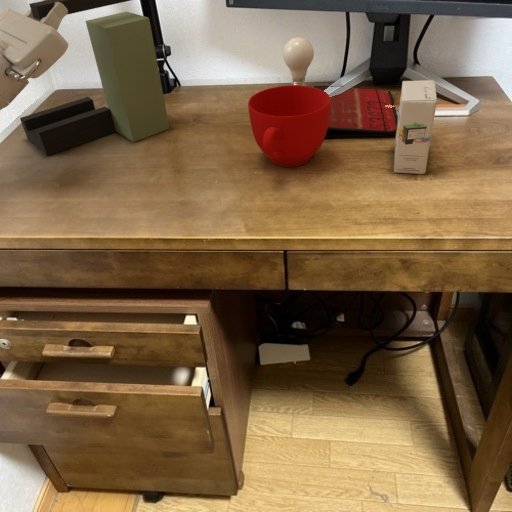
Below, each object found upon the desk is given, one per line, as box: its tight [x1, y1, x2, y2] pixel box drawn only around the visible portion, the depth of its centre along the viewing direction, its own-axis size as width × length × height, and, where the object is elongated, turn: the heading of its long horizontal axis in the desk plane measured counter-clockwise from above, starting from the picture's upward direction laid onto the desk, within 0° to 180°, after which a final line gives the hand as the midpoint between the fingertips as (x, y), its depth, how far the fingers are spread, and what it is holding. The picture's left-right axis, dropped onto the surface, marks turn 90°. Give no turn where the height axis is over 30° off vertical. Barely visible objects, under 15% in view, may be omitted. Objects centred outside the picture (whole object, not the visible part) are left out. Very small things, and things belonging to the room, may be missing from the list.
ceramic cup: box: [247, 84, 331, 168], centre depth 79 cm, size 13×17×10 cm
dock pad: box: [19, 96, 116, 157], centre depth 95 cm, size 10×14×4 cm
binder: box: [312, 85, 398, 138], centre depth 95 cm, size 16×2×21 cm
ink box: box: [393, 79, 438, 175], centre depth 76 cm, size 8×5×12 cm, turn 167°
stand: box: [85, 11, 170, 143], centre depth 90 cm, size 8×8×20 cm
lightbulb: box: [282, 36, 315, 86], centre depth 104 cm, size 6×6×11 cm
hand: (57, 3), depth 77 cm, fingers closed on pad strip, 3 cm apart
